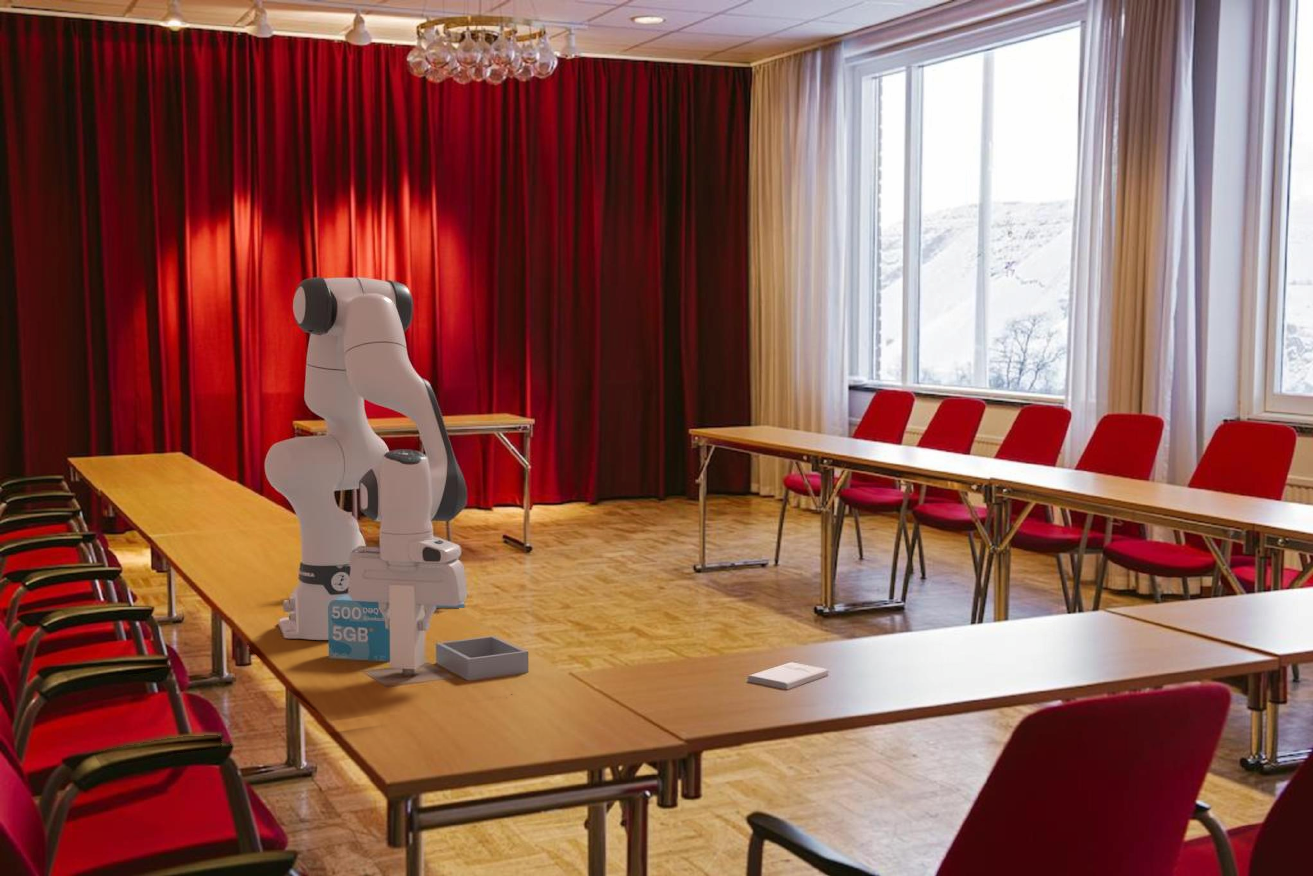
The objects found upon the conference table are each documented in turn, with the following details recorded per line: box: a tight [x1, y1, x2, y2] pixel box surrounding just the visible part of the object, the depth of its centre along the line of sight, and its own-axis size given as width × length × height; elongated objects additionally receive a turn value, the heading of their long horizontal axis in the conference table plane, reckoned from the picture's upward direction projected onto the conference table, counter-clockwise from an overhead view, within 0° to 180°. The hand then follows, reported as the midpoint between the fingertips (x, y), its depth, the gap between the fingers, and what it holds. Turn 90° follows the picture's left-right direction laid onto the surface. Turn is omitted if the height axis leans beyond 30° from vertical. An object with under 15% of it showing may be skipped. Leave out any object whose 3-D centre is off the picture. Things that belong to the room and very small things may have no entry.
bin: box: [435, 635, 529, 682], centre depth 232 cm, size 14×11×5 cm
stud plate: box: [362, 662, 456, 688], centre depth 228 cm, size 12×12×4 cm
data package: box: [327, 595, 390, 662], centre depth 240 cm, size 12×4×12 cm, turn 77°
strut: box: [389, 584, 426, 669], centre depth 227 cm, size 4×4×14 cm
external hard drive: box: [747, 661, 829, 691], centre depth 231 cm, size 2×8×12 cm
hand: (407, 629), depth 227 cm, fingers closed on strut, 4 cm apart
